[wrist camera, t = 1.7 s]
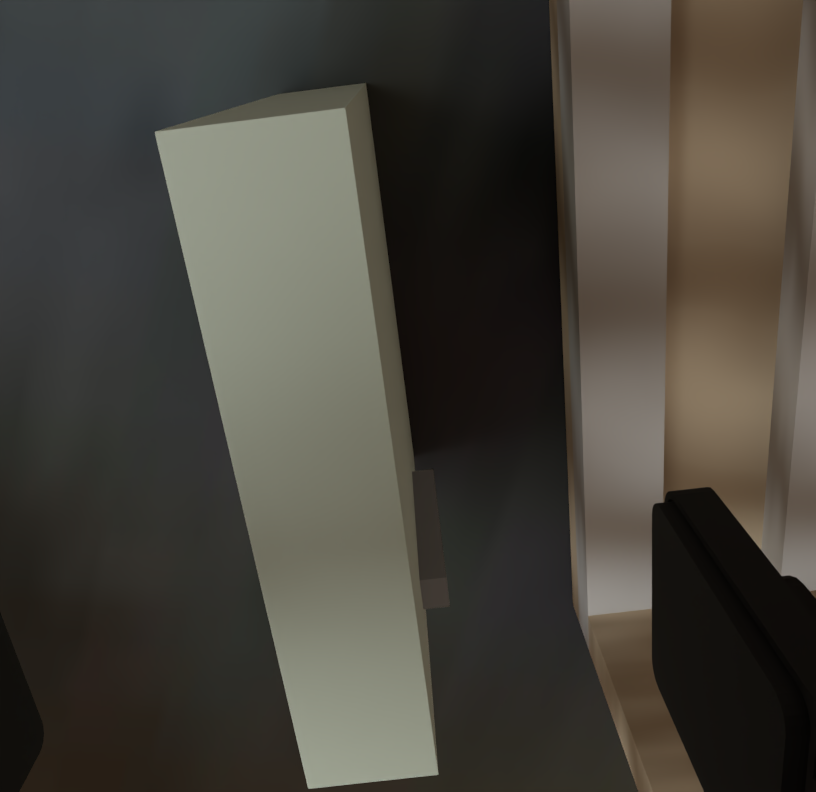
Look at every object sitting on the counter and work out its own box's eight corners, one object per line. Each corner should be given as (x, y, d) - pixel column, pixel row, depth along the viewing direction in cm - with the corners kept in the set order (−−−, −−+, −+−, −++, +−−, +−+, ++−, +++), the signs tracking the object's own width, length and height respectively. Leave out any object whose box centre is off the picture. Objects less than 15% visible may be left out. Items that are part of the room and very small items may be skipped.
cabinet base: (539, -250, 19) (799, -770, 7) (907, -299, 19) (1806, -917, 7) (573, 604, 29) (702, 975, 17) (812, 577, 29) (1109, 934, 17)
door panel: (278, 93, 22) (154, 132, 10) (387, 80, 22) (390, 102, 10) (341, 465, 27) (308, 788, 15) (431, 454, 27) (470, 771, 15)
